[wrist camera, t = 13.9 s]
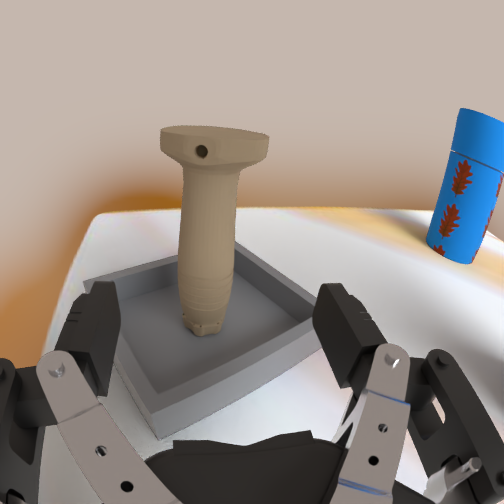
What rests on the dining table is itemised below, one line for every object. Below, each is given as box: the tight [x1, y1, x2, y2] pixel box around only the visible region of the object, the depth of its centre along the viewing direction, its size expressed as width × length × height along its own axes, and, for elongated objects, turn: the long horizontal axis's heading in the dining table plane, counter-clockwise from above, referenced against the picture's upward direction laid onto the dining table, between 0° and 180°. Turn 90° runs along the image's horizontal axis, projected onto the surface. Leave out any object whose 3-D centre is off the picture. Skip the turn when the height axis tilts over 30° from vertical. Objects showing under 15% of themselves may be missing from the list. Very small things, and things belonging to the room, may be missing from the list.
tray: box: [83, 241, 322, 440], centre depth 24 cm, size 16×14×4 cm
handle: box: [160, 126, 269, 337], centre depth 20 cm, size 5×6×15 cm
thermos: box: [426, 108, 504, 264], centre depth 41 cm, size 11×11×25 cm
